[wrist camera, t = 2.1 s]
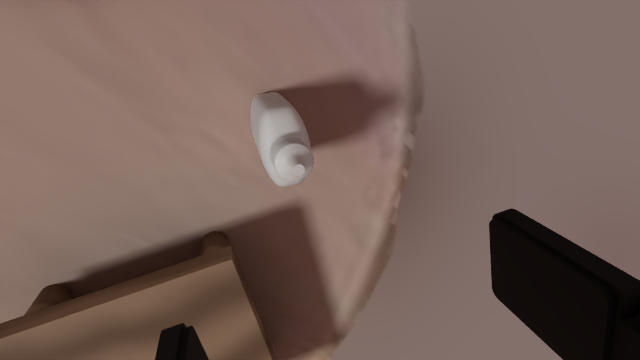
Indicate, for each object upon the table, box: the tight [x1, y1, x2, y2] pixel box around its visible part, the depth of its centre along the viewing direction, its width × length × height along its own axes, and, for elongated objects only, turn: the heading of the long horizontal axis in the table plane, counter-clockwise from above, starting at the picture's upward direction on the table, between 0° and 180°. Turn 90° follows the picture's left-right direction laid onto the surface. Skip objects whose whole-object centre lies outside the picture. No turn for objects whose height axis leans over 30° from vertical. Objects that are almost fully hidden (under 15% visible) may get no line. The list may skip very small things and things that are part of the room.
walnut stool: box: [0, 232, 276, 360], centre depth 32 cm, size 18×18×7 cm
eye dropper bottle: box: [251, 92, 314, 187], centre depth 26 cm, size 4×6×12 cm
